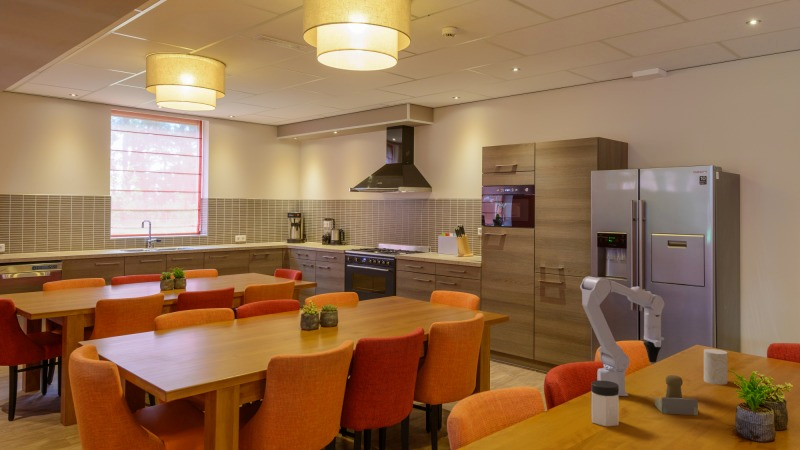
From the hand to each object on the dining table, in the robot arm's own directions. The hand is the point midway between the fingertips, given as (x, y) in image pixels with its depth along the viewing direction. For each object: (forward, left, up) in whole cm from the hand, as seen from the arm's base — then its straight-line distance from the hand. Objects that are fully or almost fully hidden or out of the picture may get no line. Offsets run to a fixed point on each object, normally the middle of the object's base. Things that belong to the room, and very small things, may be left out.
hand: (652, 361), depth 206 cm
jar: (-25, -37, -11) cm, 46 cm away
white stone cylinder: (+28, +15, -11) cm, 33 cm away
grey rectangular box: (+1, -23, -10) cm, 25 cm away
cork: (+1, -21, -11) cm, 23 cm away
